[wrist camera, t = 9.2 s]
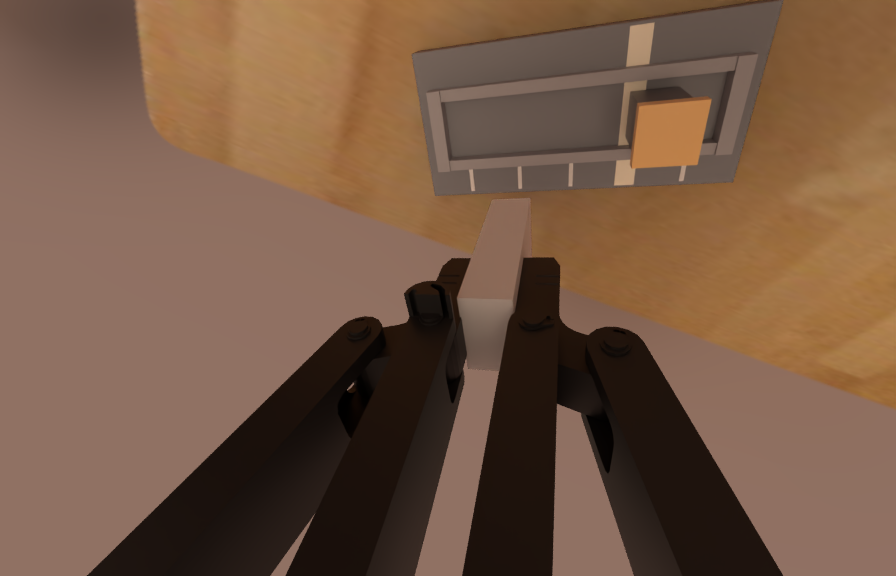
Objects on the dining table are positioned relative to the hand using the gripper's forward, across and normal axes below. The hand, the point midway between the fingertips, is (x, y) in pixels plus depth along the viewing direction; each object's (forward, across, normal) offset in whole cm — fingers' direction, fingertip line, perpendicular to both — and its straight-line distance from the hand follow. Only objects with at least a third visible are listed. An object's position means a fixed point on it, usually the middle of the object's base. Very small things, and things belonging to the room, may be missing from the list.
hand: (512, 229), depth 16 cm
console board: (+20, -3, 0) cm, 20 cm away
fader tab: (+17, -8, 0) cm, 19 cm away
